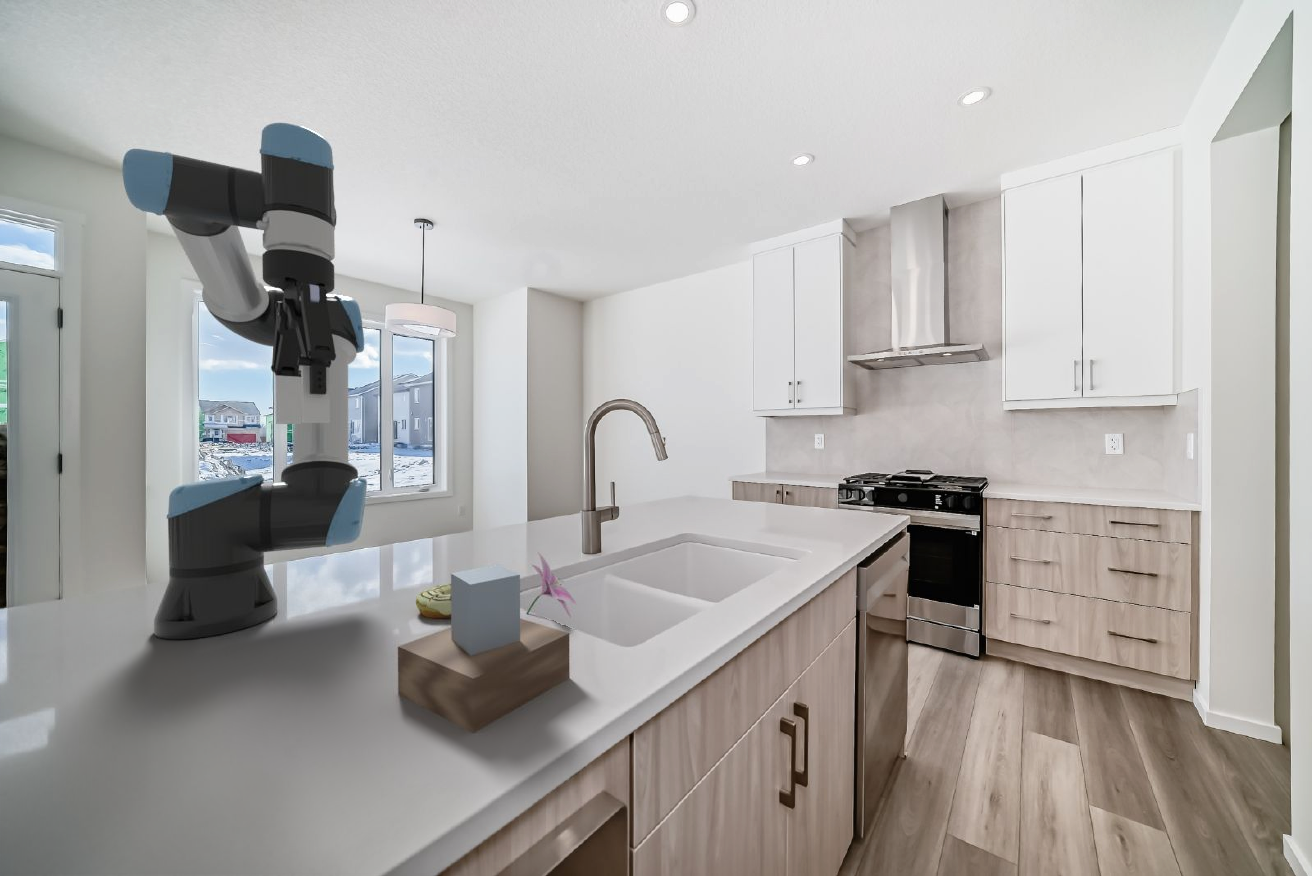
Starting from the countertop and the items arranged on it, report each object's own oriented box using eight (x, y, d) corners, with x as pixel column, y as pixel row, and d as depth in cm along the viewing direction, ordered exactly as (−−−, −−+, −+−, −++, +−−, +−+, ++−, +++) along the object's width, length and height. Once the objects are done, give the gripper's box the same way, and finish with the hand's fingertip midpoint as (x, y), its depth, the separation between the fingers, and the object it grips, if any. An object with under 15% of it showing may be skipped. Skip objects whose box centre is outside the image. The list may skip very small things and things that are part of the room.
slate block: (451, 639, 62) (451, 573, 62) (498, 626, 66) (498, 564, 66) (470, 655, 58) (470, 584, 57) (520, 640, 61) (519, 574, 61)
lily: (543, 639, 78) (574, 582, 80) (488, 600, 83) (518, 546, 84) (576, 634, 89) (603, 584, 91) (525, 600, 94) (552, 552, 95)
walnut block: (398, 697, 60) (397, 646, 60) (495, 653, 72) (495, 611, 72) (473, 737, 52) (473, 678, 52) (569, 681, 64) (569, 633, 64)
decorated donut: (450, 626, 81) (449, 602, 81) (402, 616, 86) (401, 593, 86) (495, 605, 91) (495, 584, 91) (450, 597, 95) (450, 577, 95)
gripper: (244, 270, 71) (246, 424, 71) (286, 220, 54) (289, 421, 54) (308, 282, 77) (309, 424, 77) (365, 239, 59) (367, 422, 60)
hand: (301, 423), depth 66 cm, fingers open, 13 cm apart
